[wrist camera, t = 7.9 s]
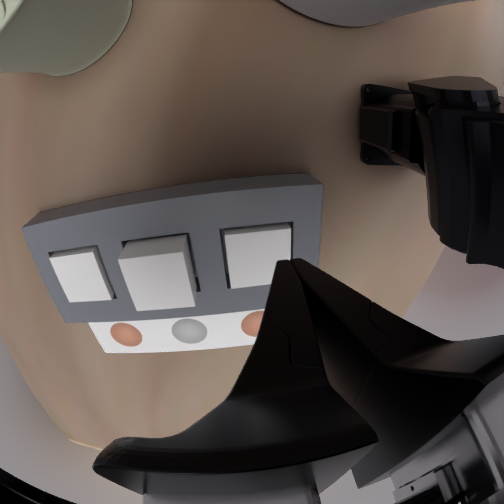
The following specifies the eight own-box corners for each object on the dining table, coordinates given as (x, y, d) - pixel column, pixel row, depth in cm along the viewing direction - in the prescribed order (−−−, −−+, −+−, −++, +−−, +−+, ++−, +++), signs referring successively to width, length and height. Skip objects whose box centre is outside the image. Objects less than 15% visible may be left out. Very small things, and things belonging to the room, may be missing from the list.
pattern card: (299, 293, 26) (300, 296, 25) (296, 335, 29) (297, 338, 28) (85, 313, 24) (83, 316, 24) (106, 350, 27) (105, 353, 27)
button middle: (186, 234, 18) (182, 252, 16) (196, 285, 21) (195, 306, 19) (127, 241, 18) (117, 259, 16) (142, 290, 20) (136, 311, 18)
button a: (103, 236, 19) (92, 252, 17) (119, 281, 21) (111, 299, 19) (61, 243, 19) (49, 258, 17) (78, 285, 21) (69, 302, 19)
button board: (309, 172, 20) (322, 184, 17) (305, 280, 25) (314, 301, 22) (39, 212, 18) (21, 228, 16) (75, 302, 23) (65, 322, 21)
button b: (283, 214, 20) (290, 228, 18) (283, 264, 22) (290, 281, 20) (223, 220, 20) (224, 235, 18) (229, 270, 22) (231, 288, 20)
